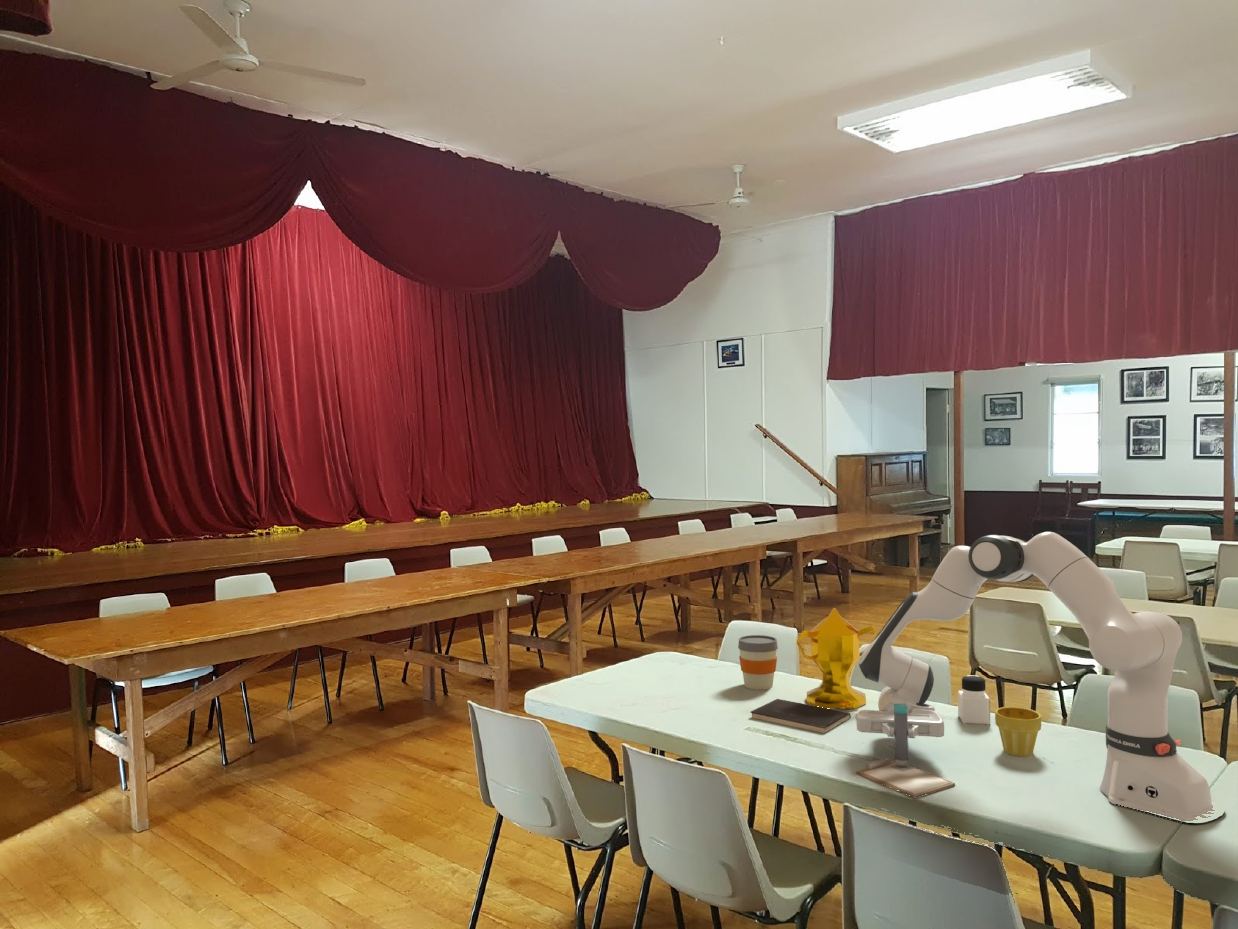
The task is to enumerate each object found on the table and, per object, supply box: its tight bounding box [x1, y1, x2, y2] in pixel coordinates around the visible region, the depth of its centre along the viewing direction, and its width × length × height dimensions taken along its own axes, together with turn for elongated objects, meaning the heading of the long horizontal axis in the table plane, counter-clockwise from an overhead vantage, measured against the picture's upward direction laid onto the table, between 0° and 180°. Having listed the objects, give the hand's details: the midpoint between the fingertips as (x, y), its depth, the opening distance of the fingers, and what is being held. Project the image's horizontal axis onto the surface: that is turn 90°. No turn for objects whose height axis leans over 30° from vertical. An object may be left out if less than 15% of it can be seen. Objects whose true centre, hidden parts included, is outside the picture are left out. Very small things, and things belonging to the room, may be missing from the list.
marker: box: [893, 704, 909, 766], centre depth 203 cm, size 3×3×14 cm
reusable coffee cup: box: [737, 634, 779, 691], centre depth 276 cm, size 13×13×15 cm
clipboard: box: [856, 758, 956, 798], centre depth 197 cm, size 17×13×2 cm
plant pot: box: [994, 706, 1042, 757], centre depth 213 cm, size 10×10×10 cm
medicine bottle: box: [957, 674, 991, 725], centre depth 238 cm, size 7×7×12 cm
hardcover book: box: [750, 698, 852, 734], centre depth 243 cm, size 16×23×2 cm
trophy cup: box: [796, 607, 878, 710], centre depth 257 cm, size 18×24×28 cm
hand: (901, 734), depth 202 cm, fingers open, 3 cm apart
